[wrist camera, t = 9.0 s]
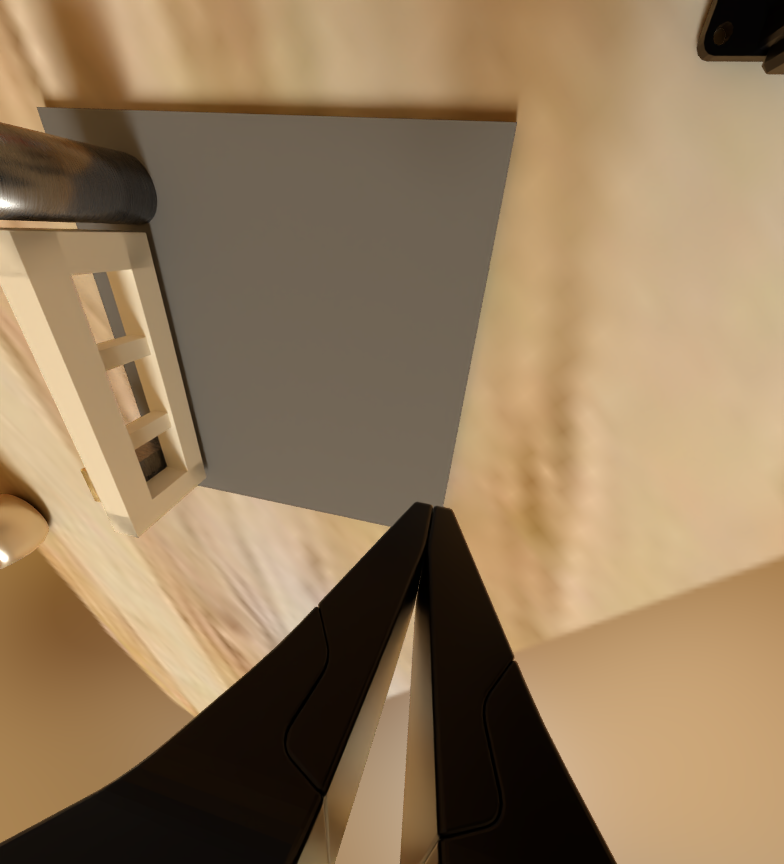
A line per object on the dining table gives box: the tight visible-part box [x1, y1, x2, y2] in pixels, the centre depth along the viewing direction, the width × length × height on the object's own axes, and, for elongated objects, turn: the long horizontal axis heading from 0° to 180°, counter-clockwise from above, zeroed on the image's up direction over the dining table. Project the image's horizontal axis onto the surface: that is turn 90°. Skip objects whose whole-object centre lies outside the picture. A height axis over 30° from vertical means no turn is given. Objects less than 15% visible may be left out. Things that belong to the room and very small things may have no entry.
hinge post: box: [0, 122, 157, 225], centre depth 14 cm, size 3×3×8 cm
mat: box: [37, 107, 517, 527], centre depth 20 cm, size 22×22×1 cm
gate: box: [0, 228, 206, 538], centre depth 19 cm, size 16×2×6 cm, turn 175°
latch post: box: [81, 436, 167, 502], centre depth 23 cm, size 2×2×6 cm
